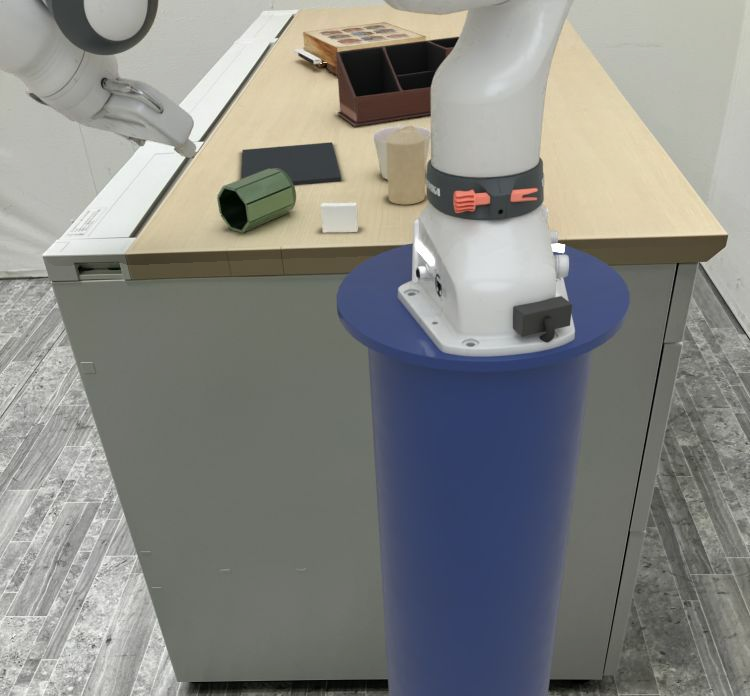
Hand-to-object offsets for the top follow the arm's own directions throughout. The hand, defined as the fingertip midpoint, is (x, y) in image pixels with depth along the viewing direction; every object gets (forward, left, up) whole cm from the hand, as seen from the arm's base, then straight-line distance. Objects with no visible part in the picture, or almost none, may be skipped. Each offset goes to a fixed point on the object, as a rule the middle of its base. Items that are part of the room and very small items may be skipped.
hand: (165, 146), depth 103 cm
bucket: (+9, -10, -14) cm, 20 cm away
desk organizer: (+64, -41, -14) cm, 77 cm away
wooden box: (+112, -34, -14) cm, 118 cm away
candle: (+13, -32, -14) cm, 37 cm away
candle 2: (+24, -33, -14) cm, 43 cm away
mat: (+34, -15, -14) cm, 40 cm away
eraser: (+3, -21, -14) cm, 25 cm away
